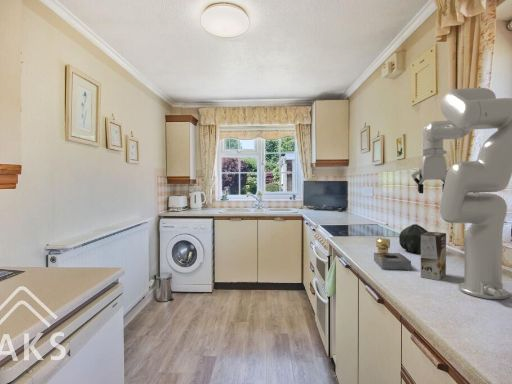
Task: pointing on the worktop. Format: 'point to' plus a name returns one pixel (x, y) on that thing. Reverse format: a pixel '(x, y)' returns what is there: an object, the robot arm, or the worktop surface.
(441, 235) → the coffee box
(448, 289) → the worktop surface
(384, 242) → the end cover
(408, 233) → the squash
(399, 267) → the block
